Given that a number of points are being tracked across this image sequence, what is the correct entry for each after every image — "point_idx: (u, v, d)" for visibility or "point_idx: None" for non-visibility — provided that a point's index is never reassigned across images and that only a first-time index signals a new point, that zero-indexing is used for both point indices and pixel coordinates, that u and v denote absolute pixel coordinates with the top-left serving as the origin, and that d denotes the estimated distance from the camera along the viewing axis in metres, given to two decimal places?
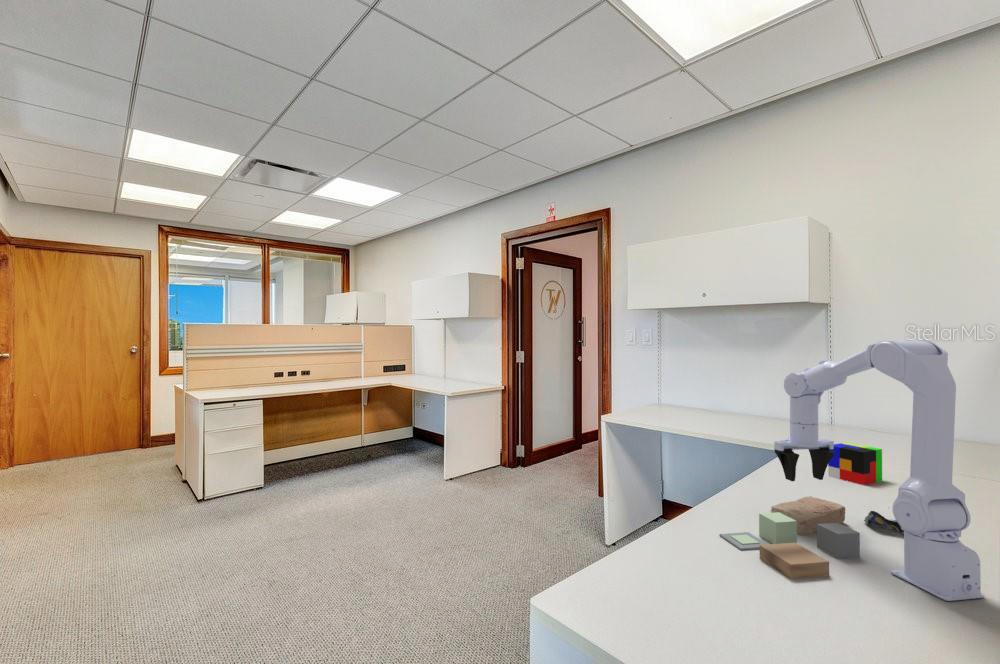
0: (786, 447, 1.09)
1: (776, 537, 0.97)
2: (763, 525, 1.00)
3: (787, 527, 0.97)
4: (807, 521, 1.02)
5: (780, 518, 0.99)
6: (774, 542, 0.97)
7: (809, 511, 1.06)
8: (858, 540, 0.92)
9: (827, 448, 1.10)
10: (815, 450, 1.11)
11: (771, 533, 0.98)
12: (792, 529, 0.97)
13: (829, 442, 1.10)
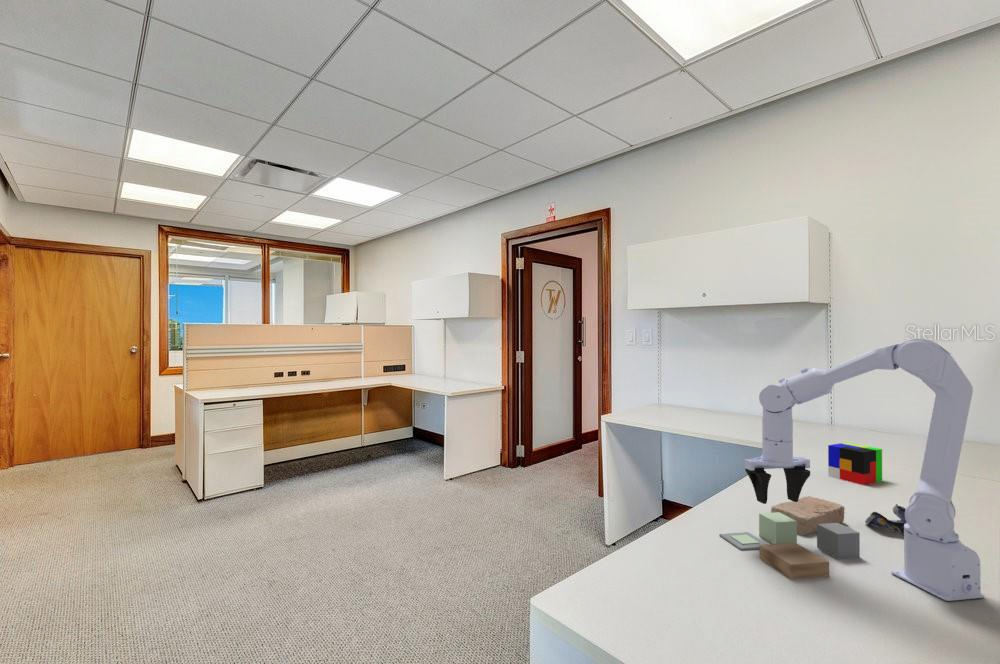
0: (757, 466, 0.99)
1: (776, 537, 0.97)
2: (763, 525, 1.00)
3: (787, 527, 0.97)
4: (808, 521, 1.02)
5: (780, 518, 0.99)
6: (774, 542, 0.97)
7: (809, 511, 1.06)
8: (858, 540, 0.92)
9: (803, 467, 1.00)
10: (790, 469, 1.01)
11: (771, 533, 0.98)
12: (792, 529, 0.97)
13: (805, 460, 1.00)
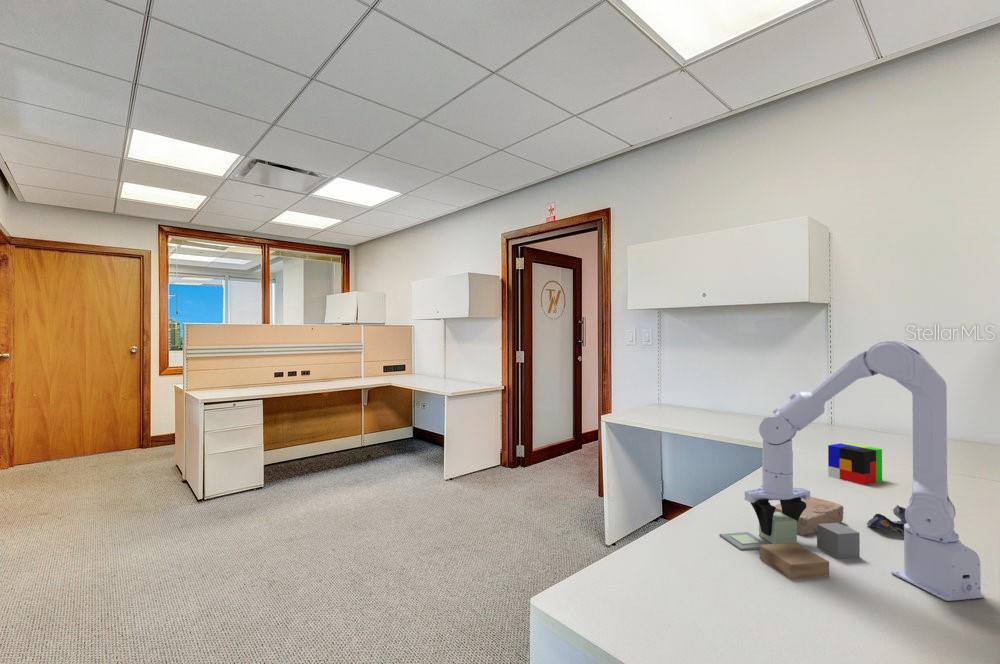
0: (757, 498, 0.99)
1: (775, 536, 0.97)
2: None
3: (787, 527, 0.97)
4: (808, 521, 1.02)
5: (780, 518, 0.99)
6: (774, 541, 0.97)
7: (809, 511, 1.06)
8: (858, 540, 0.92)
9: (803, 498, 1.00)
10: (786, 500, 1.01)
11: (771, 532, 0.98)
12: (792, 529, 0.97)
13: (805, 492, 1.00)
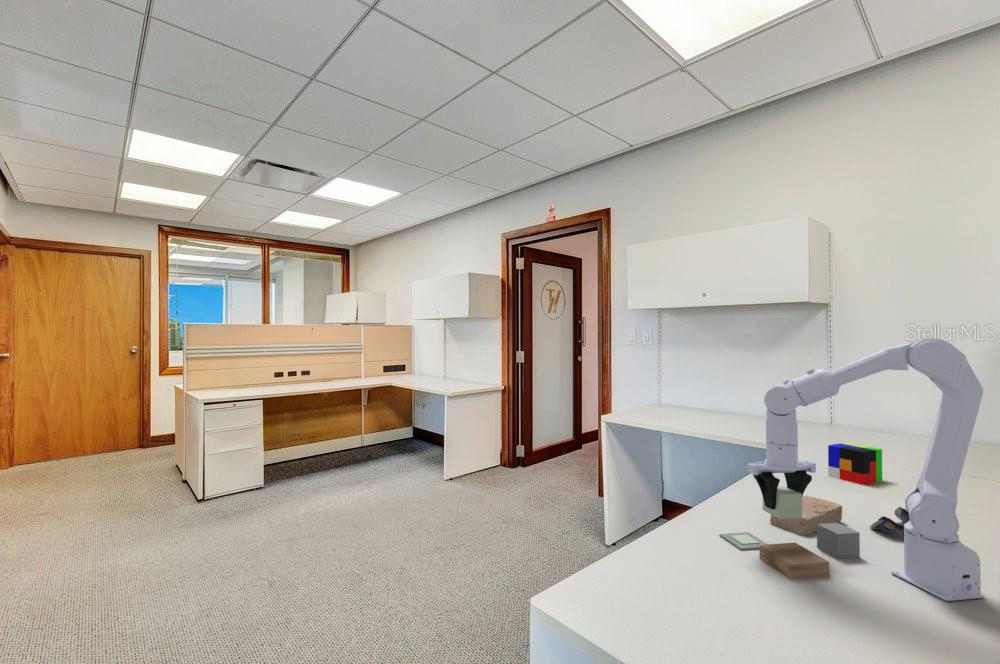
0: (761, 470, 0.95)
1: (780, 510, 0.93)
2: None
3: (791, 500, 0.94)
4: (809, 521, 1.02)
5: (784, 491, 0.95)
6: (778, 515, 0.94)
7: (809, 511, 1.06)
8: (858, 540, 0.92)
9: (808, 471, 0.96)
10: (791, 474, 0.97)
11: None
12: (797, 502, 0.94)
13: (811, 465, 0.96)
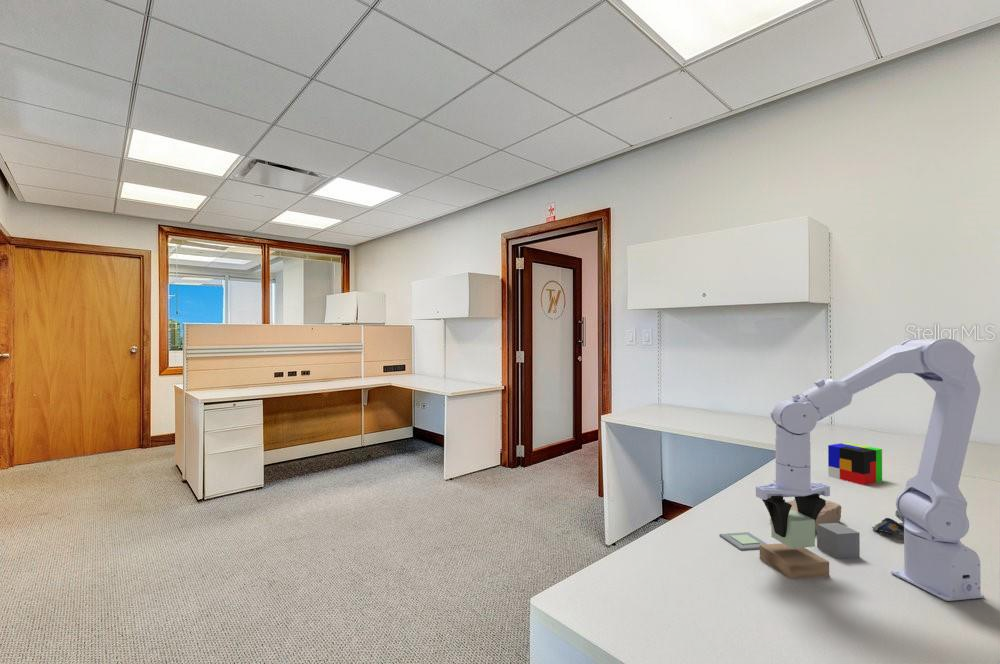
0: (770, 494, 0.87)
1: (791, 538, 0.85)
2: None
3: (803, 527, 0.86)
4: None
5: (795, 517, 0.87)
6: (789, 544, 0.86)
7: None
8: (858, 540, 0.92)
9: None
10: (802, 497, 0.89)
11: None
12: (809, 529, 0.86)
13: (824, 488, 0.88)
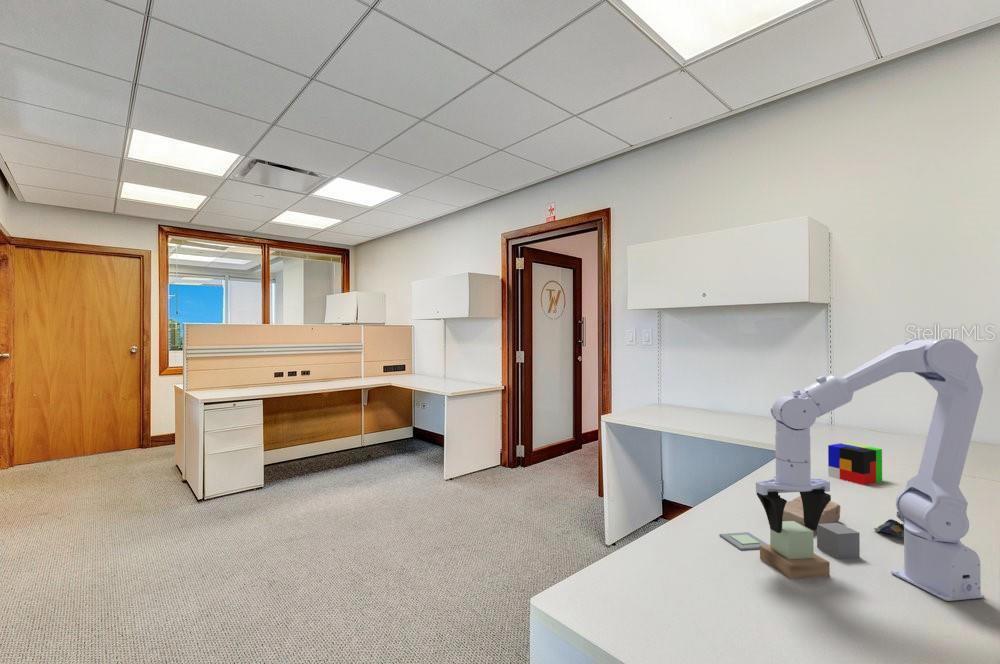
0: (770, 490, 0.87)
1: (789, 549, 0.85)
2: (775, 535, 0.89)
3: (801, 538, 0.86)
4: None
5: (794, 528, 0.87)
6: (787, 555, 0.86)
7: None
8: (858, 540, 0.92)
9: (822, 490, 0.88)
10: (807, 492, 0.89)
11: (783, 544, 0.87)
12: (808, 541, 0.86)
13: (824, 483, 0.88)
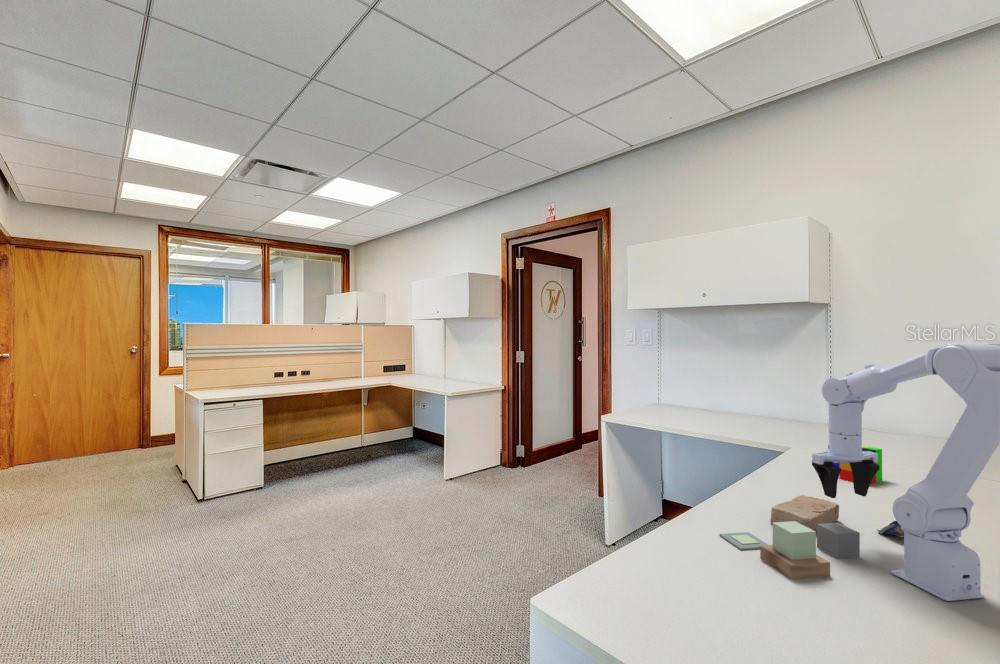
0: (826, 460, 0.98)
1: (792, 550, 0.85)
2: (777, 536, 0.89)
3: (804, 539, 0.86)
4: (810, 521, 1.02)
5: (796, 528, 0.87)
6: (790, 555, 0.86)
7: (808, 511, 1.06)
8: (858, 540, 0.92)
9: (871, 461, 0.99)
10: (857, 463, 1.00)
11: (786, 545, 0.86)
12: (811, 541, 0.86)
13: (873, 454, 0.99)
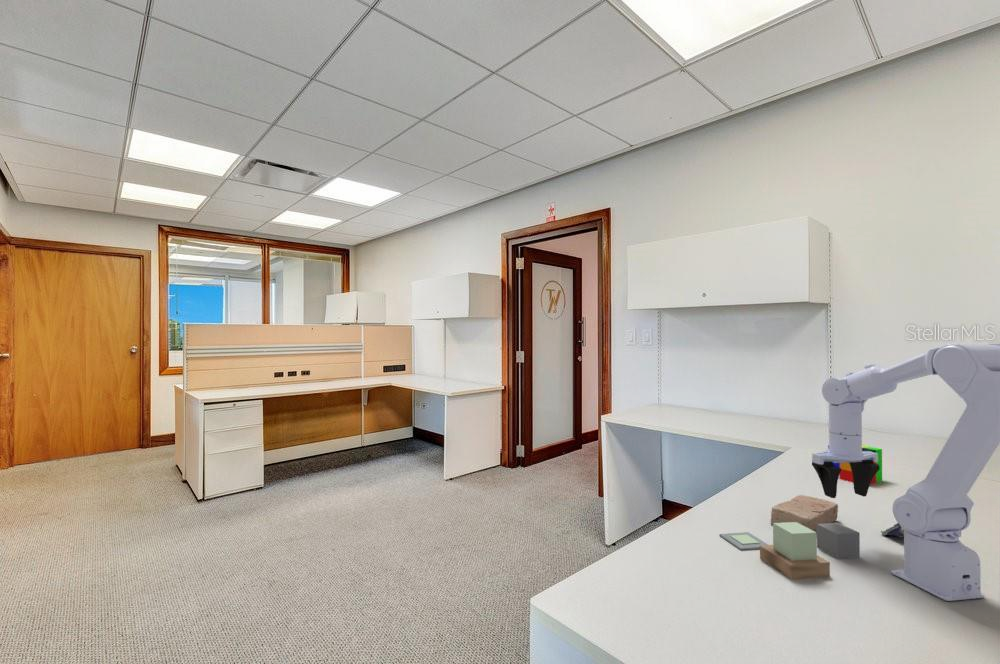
0: (826, 460, 0.98)
1: (792, 550, 0.85)
2: (778, 536, 0.88)
3: (805, 539, 0.85)
4: (810, 521, 1.02)
5: (797, 529, 0.87)
6: (790, 556, 0.85)
7: (808, 511, 1.06)
8: (858, 540, 0.92)
9: (871, 461, 0.99)
10: (857, 463, 1.00)
11: (786, 546, 0.86)
12: (811, 542, 0.85)
13: (873, 454, 0.99)
